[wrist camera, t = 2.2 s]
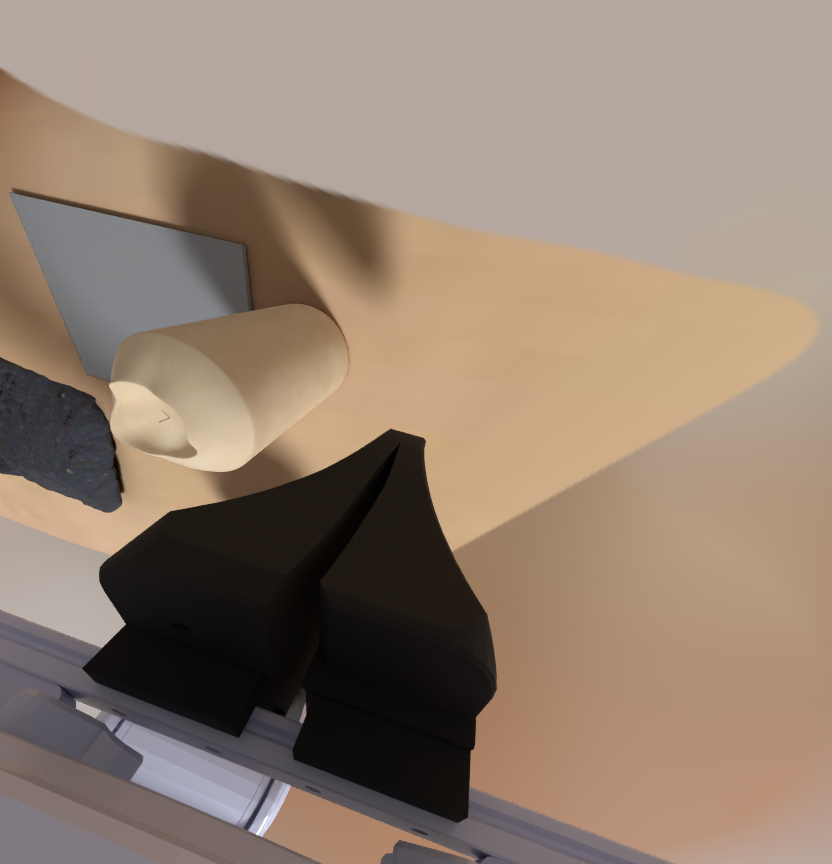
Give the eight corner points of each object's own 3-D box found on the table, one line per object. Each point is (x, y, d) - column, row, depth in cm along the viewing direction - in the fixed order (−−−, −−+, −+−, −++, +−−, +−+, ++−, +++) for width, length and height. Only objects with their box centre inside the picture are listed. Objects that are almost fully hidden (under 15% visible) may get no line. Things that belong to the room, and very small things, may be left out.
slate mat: (245, 245, 16) (241, 244, 15) (264, 421, 21) (261, 423, 21) (15, 193, 17) (8, 192, 17) (91, 373, 23) (86, 374, 22)
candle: (290, 399, 20) (141, 499, 11) (251, 314, 17) (26, 361, 9) (362, 387, 18) (253, 493, 10) (330, 291, 16) (149, 321, 7)
